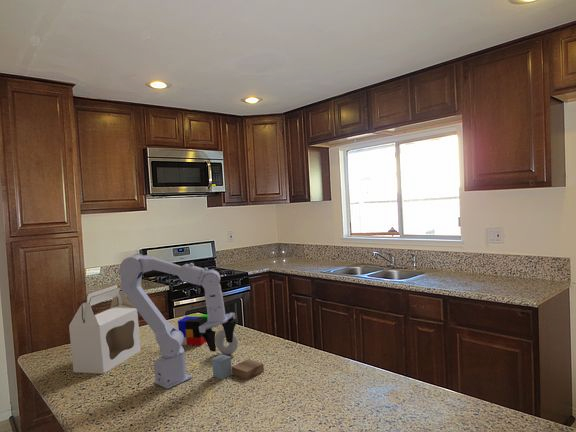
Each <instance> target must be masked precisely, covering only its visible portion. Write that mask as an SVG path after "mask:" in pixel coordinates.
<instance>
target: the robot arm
mask: <svg viewBox="0 0 576 432" xmlns="http://www.w3.org/2000/svg"><path fill="white" fill-rule="evenodd" d="M151 271H157V272H162V273H166V274H170V275H174V276H178V278H179V280H180V281H182V282H185V283H189V284H192V285H197V286H201V287H202V288H203V289H204V299H205V305H206V311H207V312H206V313H207V314H208V319H209V321H207V322H206V323H204V324H203V325H201V326H199V332H200V334H201V335H202V336H203V338H204V339H205V341H206V342H205V343H206V345H207V346H208V349H209V351H210V352H216V351H217V349H216V348H217V346H216V342H215V337H216V334H217V333H216V332H217V331H215V330H213V329H214V328H216V327H218V326H220V325H222V329H224V331H225V336H226V337H225V340H226V343H228V344H229V343H232V341H233V332H234V333H235V327H236V325H237V320H236V313H235V312H229V313H226V310H225V309H226V308H225V302H224V297H223V291H222V286H221V283H220V282H221V275H220V273H219V272H218V271H217V270H215V269H214V268H211V269H209V268H208V267H204V268H203V267H200V266H196V265H195V263H193V262H190V263H185V264H183V265H179V264H176V263H174V262H173V263H172V262H170V261H167V260H164V259H161V258H157V257H155V256H151V255H147V254H144V255H143V254H142V253H134V254H133V255H131V256H128V257H126V258H124V259H123V260H122V261H121V263H120V265H119V269H118V274H119V276H120V277H119V278H120V286H121V291H122V292H123V293H124V294H125V296H126V297H127V298H128V299H129V300H130V301H131V303H132V304H133V305H134V307H135V308H136V309H137V313H138V314H139V315H140V316H141V317H142V319H143V320H144V321H145V322H146V324H147V325H148V326H149V328H150V329H151V330H152V332H153V333H154V337H155V341H156V343H157V344H158V346H159V351H160V353H161V356H160V357H159V358H157V359H155V361H154V363H153V366H154V379H155V381H154V384H156V385H159V386H161V387H162V388H164V389H170V388H172V387H175V386H177V385H179V384H182V383H183V382H186V381H188V380H190V379H192V378H193V376H192V375H189V374H188V373H187V368H186V367H187V366H186V355H185V349H184V348H183V345H182V343H183V341H184V335H183V333H182V332H181V331H180V330H179V329H178V328H177V327H175V326H174V325H173V324H172V323H169V322H168V320H167V319H166V318H165V317H164V315H163V314H162V313H161V311H160V310H159V309H158V307H157V306H156V305H155V303H154V302H153V301H152V299H151V298H150V296H149V295H148V294H147V293H146V291H145V290H144V289H143V287H142V286H141V282H142V277H143V274H144V273H148V272H151ZM211 328H212V330H211Z"/></svg>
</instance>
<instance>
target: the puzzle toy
mask: <svg viewBox="0 0 576 432" xmlns="http://www.w3.org/2000/svg"><path fill="white" fill-rule="evenodd" d="M207 321H209V319H208V313H207V314H204V313H203V314H201V313H197V314H196V313H191V314H189V315H186V316H185V317H182V318H181V319H179V320H177V330H180V331H181V332H182V333H183V335H184V341H183V343H182V346H202V345H204V344H206V343H207V342H206V341H205V339H204V338H203V336H202V335H201V334H200V332H199V326H201V325H203V324H204V323H206V322H207ZM211 330H212V331H213V328H211Z"/></svg>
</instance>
